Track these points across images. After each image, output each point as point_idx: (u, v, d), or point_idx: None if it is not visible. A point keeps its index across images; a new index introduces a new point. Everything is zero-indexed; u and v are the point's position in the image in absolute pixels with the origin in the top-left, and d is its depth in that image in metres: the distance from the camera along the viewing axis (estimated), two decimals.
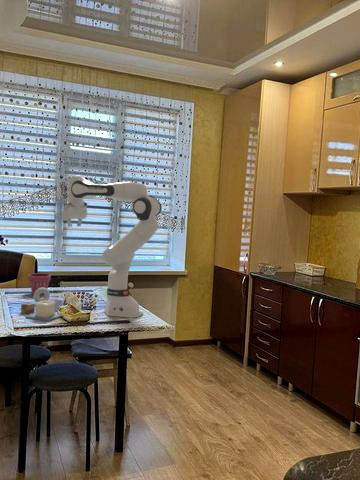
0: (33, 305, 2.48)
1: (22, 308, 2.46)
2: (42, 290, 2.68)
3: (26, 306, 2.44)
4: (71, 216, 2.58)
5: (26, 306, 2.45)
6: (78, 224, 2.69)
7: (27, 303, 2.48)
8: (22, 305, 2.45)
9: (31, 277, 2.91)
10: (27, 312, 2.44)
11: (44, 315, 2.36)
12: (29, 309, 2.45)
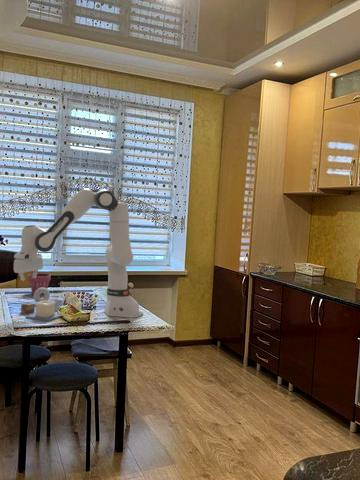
0: (33, 305, 2.48)
1: (22, 308, 2.46)
2: (42, 290, 2.68)
3: (26, 306, 2.44)
4: None
5: (26, 306, 2.45)
6: None
7: (27, 303, 2.48)
8: (22, 305, 2.45)
9: (31, 277, 2.91)
10: (27, 312, 2.44)
11: (44, 315, 2.36)
12: (29, 309, 2.45)
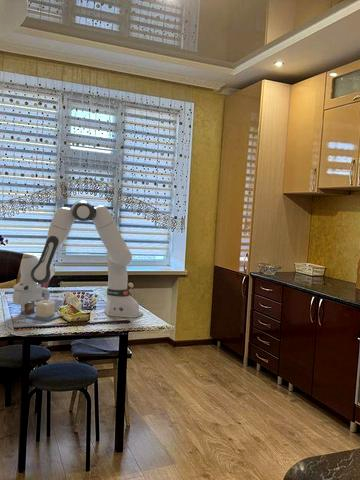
0: (33, 305, 2.48)
1: None
2: (42, 290, 2.68)
3: (26, 306, 2.44)
4: None
5: (26, 306, 2.45)
6: None
7: (27, 303, 2.48)
8: None
9: None
10: (27, 312, 2.44)
11: (44, 315, 2.36)
12: (29, 309, 2.45)
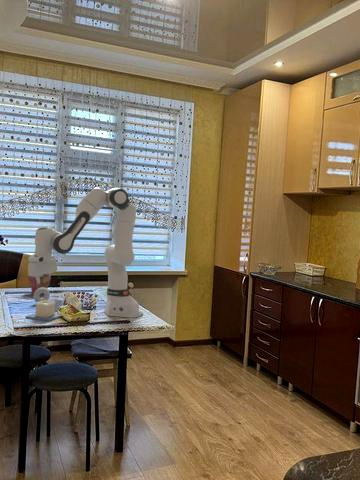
0: (48, 278, 2.41)
1: None
2: (42, 290, 2.68)
3: (41, 278, 2.38)
4: None
5: (41, 279, 2.38)
6: None
7: (42, 276, 2.41)
8: None
9: (31, 277, 2.91)
10: (42, 284, 2.38)
11: (44, 315, 2.36)
12: (45, 281, 2.38)
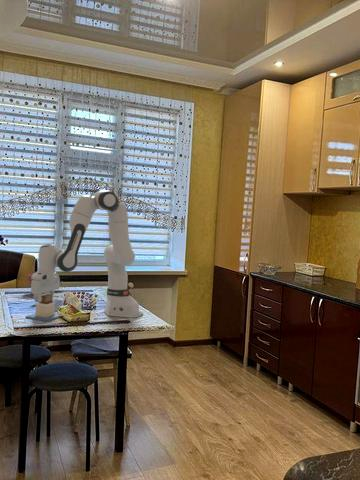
0: (51, 296, 2.40)
1: None
2: None
3: (44, 297, 2.36)
4: None
5: (44, 298, 2.36)
6: None
7: (45, 294, 2.40)
8: None
9: None
10: (45, 303, 2.36)
11: (44, 315, 2.36)
12: (48, 300, 2.37)
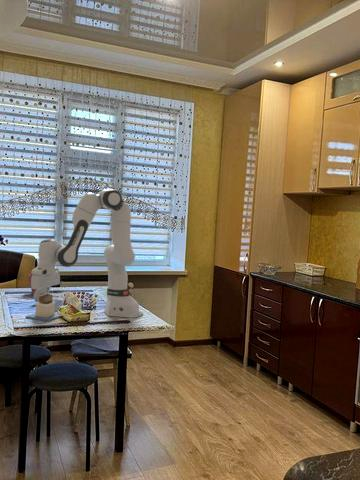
0: (51, 296, 2.40)
1: (40, 300, 2.37)
2: None
3: (44, 297, 2.36)
4: None
5: (44, 298, 2.36)
6: None
7: None
8: (40, 296, 2.37)
9: None
10: (45, 303, 2.36)
11: (44, 315, 2.36)
12: (48, 300, 2.37)
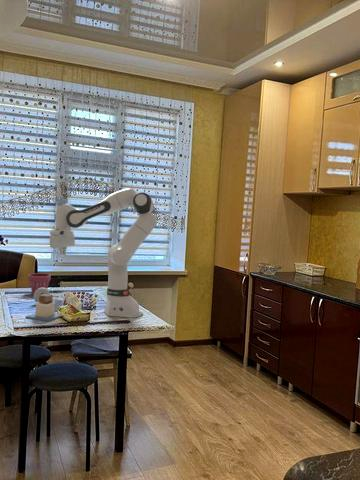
0: (51, 296, 2.40)
1: (40, 300, 2.37)
2: (42, 290, 2.68)
3: (44, 297, 2.36)
4: None
5: (44, 298, 2.36)
6: None
7: (45, 294, 2.40)
8: (40, 296, 2.37)
9: (31, 277, 2.91)
10: (45, 303, 2.36)
11: (44, 315, 2.36)
12: (48, 300, 2.37)
